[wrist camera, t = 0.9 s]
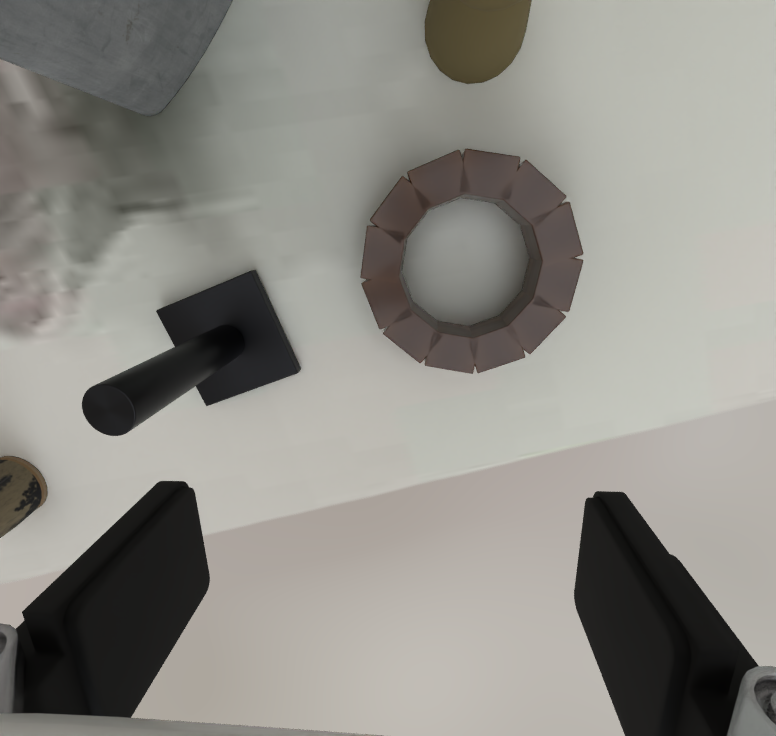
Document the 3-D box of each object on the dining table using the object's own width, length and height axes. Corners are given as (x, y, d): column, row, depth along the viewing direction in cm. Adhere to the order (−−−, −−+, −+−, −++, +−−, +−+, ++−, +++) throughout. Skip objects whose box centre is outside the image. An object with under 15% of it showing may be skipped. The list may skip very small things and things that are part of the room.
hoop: (531, 125, 28) (546, 111, 25) (585, 319, 32) (604, 331, 28) (340, 207, 31) (329, 205, 27) (408, 380, 34) (406, 397, 31)
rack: (255, 269, 32) (136, 299, 19) (301, 369, 34) (221, 459, 21) (162, 308, 34) (-9, 361, 21) (212, 401, 36) (84, 505, 23)
